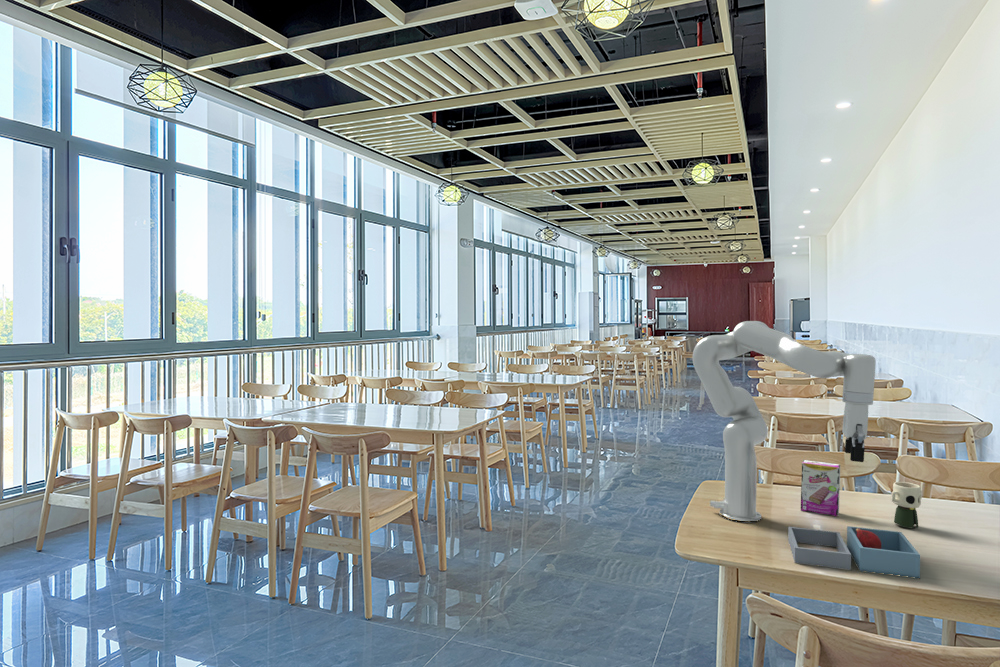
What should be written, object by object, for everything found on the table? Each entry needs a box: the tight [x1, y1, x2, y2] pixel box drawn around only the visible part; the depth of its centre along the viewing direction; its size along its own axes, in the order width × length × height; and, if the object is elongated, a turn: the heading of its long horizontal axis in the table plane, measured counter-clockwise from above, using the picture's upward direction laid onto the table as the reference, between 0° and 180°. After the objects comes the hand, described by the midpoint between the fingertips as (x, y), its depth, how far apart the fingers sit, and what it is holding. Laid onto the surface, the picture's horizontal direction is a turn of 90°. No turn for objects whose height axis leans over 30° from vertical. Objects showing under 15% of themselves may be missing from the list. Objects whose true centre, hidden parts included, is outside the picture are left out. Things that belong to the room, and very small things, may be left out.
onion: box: [856, 528, 881, 549], centre depth 162 cm, size 6×6×8 cm
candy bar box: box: [800, 459, 841, 517], centre depth 200 cm, size 11×5×16 cm, turn 58°
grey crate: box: [787, 526, 852, 571], centre depth 165 cm, size 13×17×4 cm
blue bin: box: [846, 525, 921, 579], centre depth 160 cm, size 13×17×6 cm
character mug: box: [890, 481, 923, 529], centre depth 187 cm, size 11×7×13 cm, turn 103°
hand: (853, 457), depth 172 cm, fingers open, 9 cm apart
